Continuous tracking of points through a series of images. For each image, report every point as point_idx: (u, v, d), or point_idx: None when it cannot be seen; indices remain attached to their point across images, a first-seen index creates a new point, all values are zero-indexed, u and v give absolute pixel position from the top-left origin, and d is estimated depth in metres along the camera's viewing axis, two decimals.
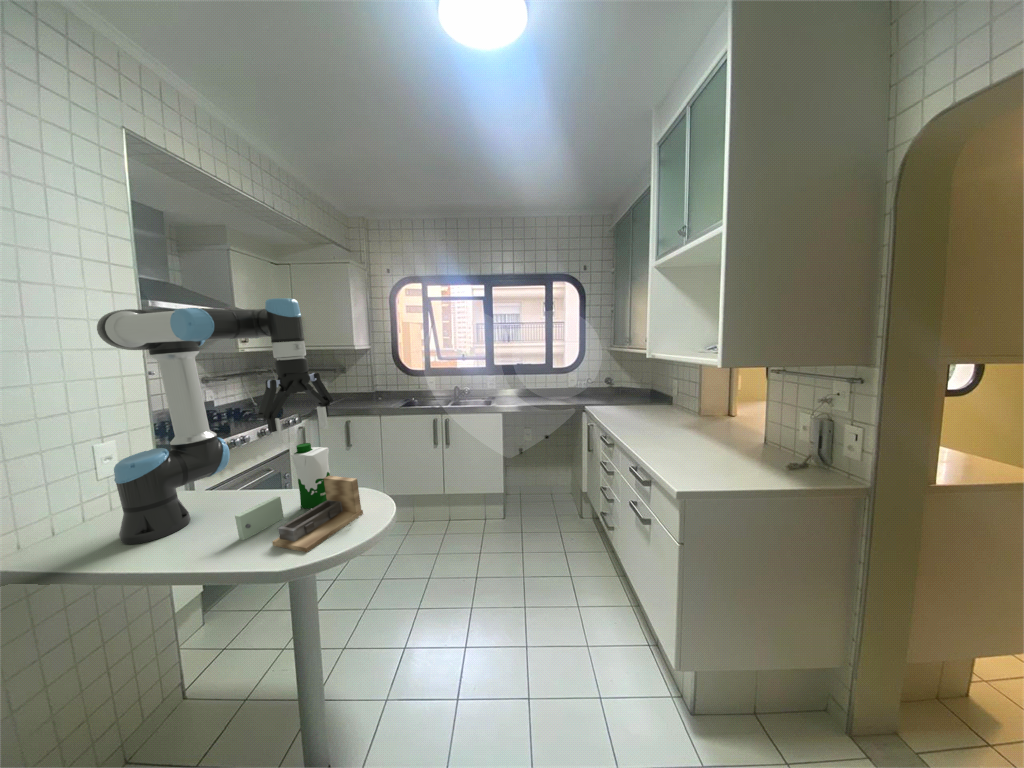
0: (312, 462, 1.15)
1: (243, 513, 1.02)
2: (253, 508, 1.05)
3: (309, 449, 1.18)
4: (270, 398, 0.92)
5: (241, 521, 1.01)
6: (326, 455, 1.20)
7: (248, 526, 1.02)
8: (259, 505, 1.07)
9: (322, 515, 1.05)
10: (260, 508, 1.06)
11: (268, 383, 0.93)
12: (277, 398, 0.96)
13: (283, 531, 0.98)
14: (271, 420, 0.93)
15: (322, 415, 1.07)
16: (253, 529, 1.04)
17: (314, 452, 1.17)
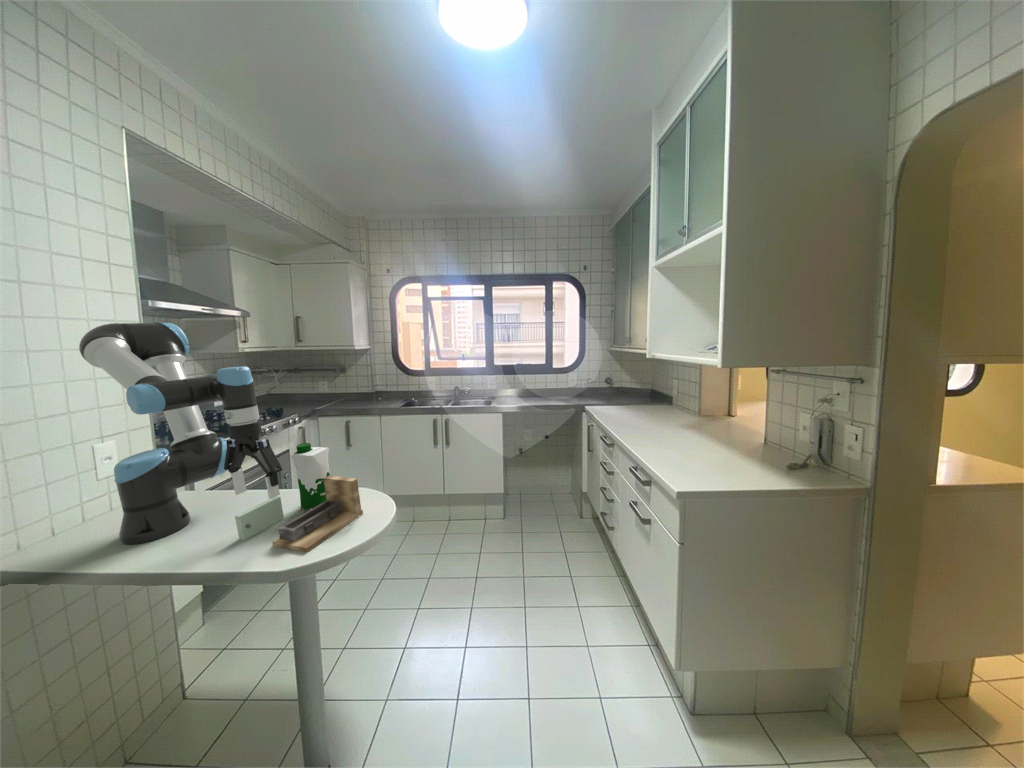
0: (312, 462, 1.15)
1: (243, 513, 1.02)
2: (253, 508, 1.05)
3: (309, 449, 1.18)
4: (226, 454, 1.06)
5: (241, 521, 1.01)
6: (326, 455, 1.20)
7: (248, 526, 1.02)
8: (259, 505, 1.07)
9: (322, 515, 1.05)
10: (260, 508, 1.06)
11: None
12: None
13: (283, 531, 0.98)
14: (231, 472, 1.07)
15: None
16: (253, 529, 1.04)
17: (314, 452, 1.17)
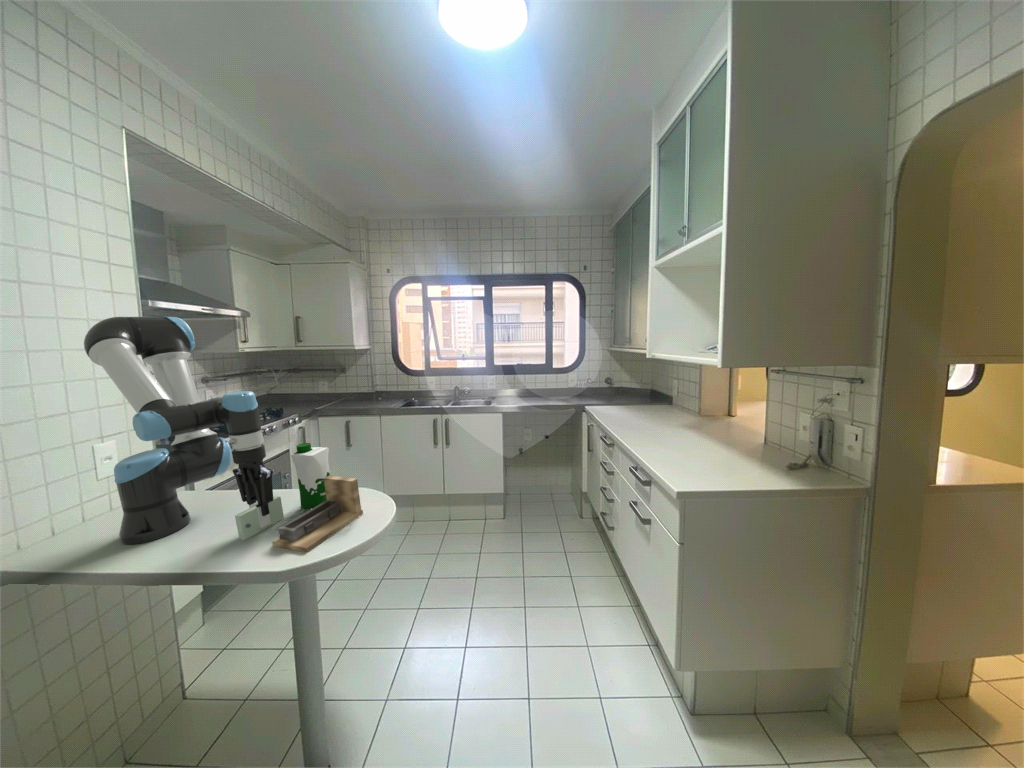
0: (312, 462, 1.15)
1: (243, 513, 1.02)
2: (253, 508, 1.05)
3: (309, 449, 1.18)
4: (238, 485, 1.06)
5: (241, 520, 1.01)
6: (326, 455, 1.20)
7: (248, 526, 1.02)
8: None
9: (322, 515, 1.05)
10: None
11: None
12: None
13: (283, 531, 0.98)
14: (249, 504, 1.07)
15: None
16: (253, 529, 1.04)
17: (314, 452, 1.17)
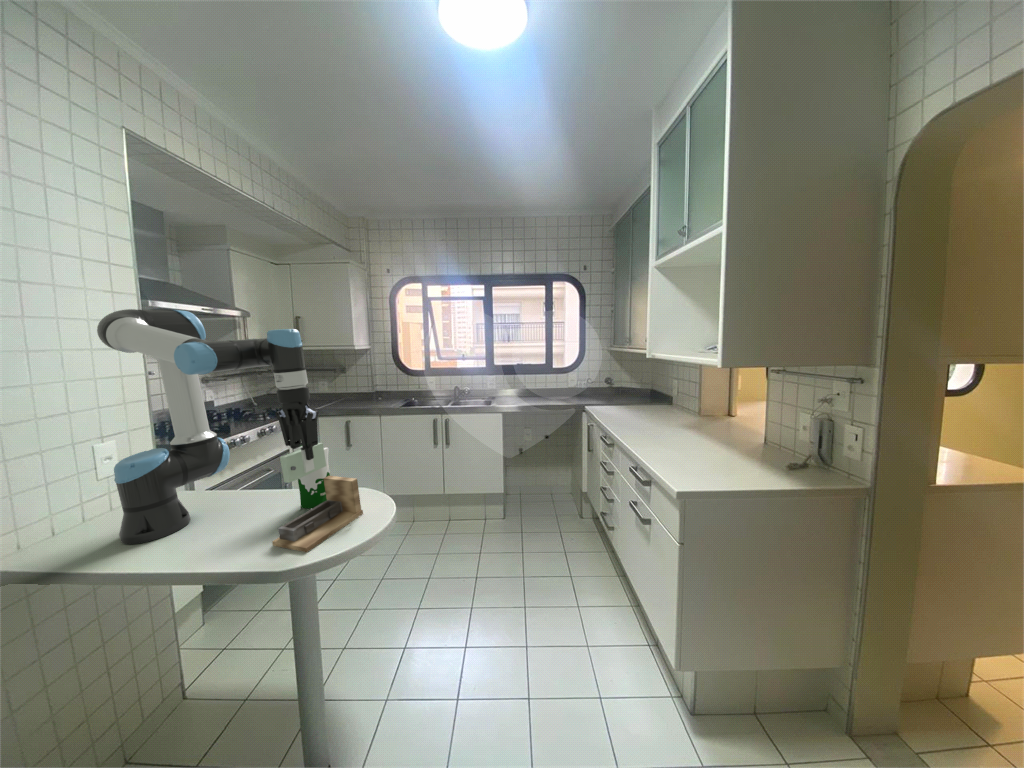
0: None
1: (288, 455, 0.98)
2: (297, 451, 1.01)
3: None
4: (281, 428, 1.02)
5: (286, 462, 0.97)
6: (326, 455, 1.20)
7: (293, 468, 0.98)
8: None
9: (322, 515, 1.05)
10: None
11: None
12: None
13: (283, 531, 0.98)
14: (292, 448, 1.03)
15: None
16: (298, 472, 1.00)
17: None
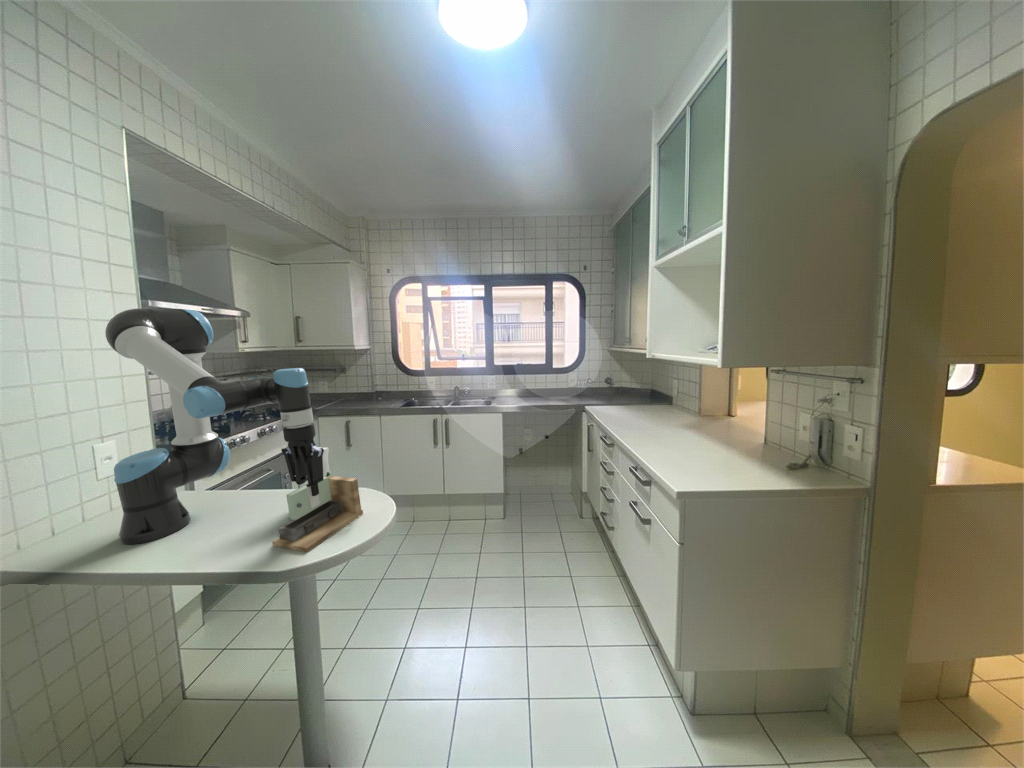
0: None
1: (294, 492, 1.00)
2: (303, 487, 1.03)
3: None
4: (287, 464, 1.04)
5: (293, 500, 0.98)
6: (326, 455, 1.20)
7: (299, 505, 1.00)
8: None
9: (322, 515, 1.05)
10: None
11: None
12: None
13: (283, 531, 0.98)
14: None
15: None
16: (304, 509, 1.02)
17: None
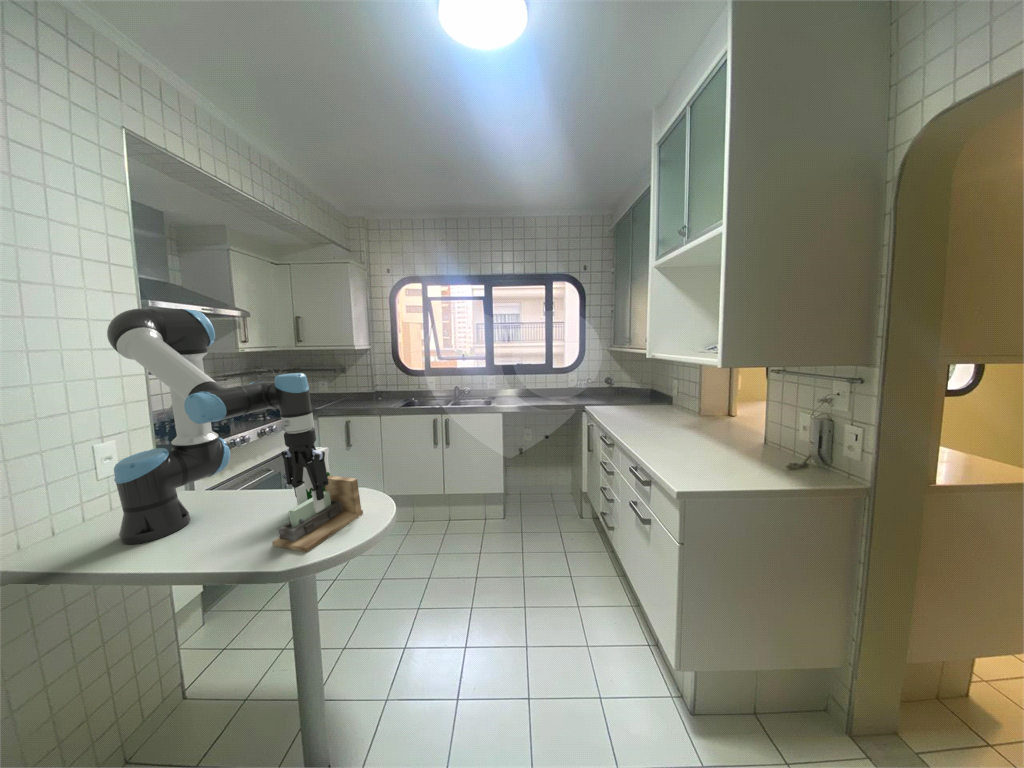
0: None
1: (297, 508, 1.01)
2: (305, 503, 1.03)
3: None
4: (285, 467, 1.04)
5: (295, 515, 0.99)
6: (326, 455, 1.20)
7: (302, 521, 1.00)
8: (310, 500, 1.05)
9: (322, 515, 1.05)
10: (312, 503, 1.04)
11: None
12: None
13: (283, 531, 0.98)
14: None
15: None
16: None
17: None
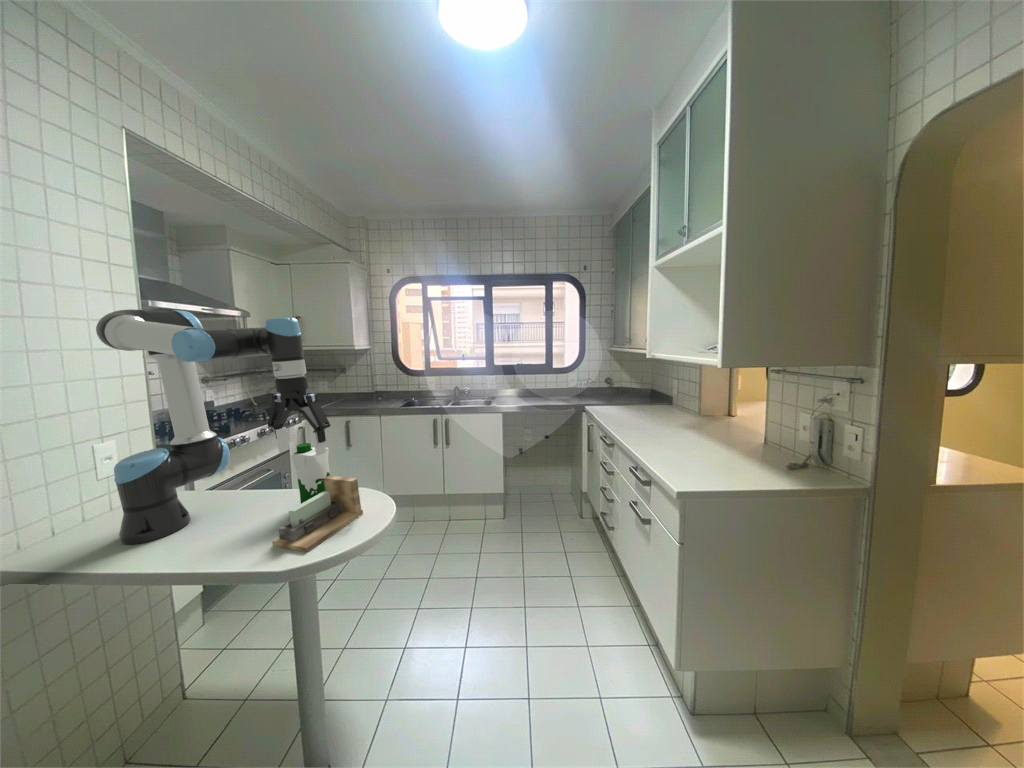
0: (312, 462, 1.15)
1: (297, 508, 1.01)
2: (305, 503, 1.03)
3: (309, 449, 1.18)
4: (271, 410, 1.02)
5: (295, 515, 0.99)
6: (326, 455, 1.20)
7: (302, 521, 1.00)
8: (310, 500, 1.05)
9: (322, 515, 1.05)
10: (312, 503, 1.04)
11: None
12: None
13: (283, 531, 0.98)
14: (275, 429, 1.04)
15: None
16: None
17: (314, 452, 1.17)
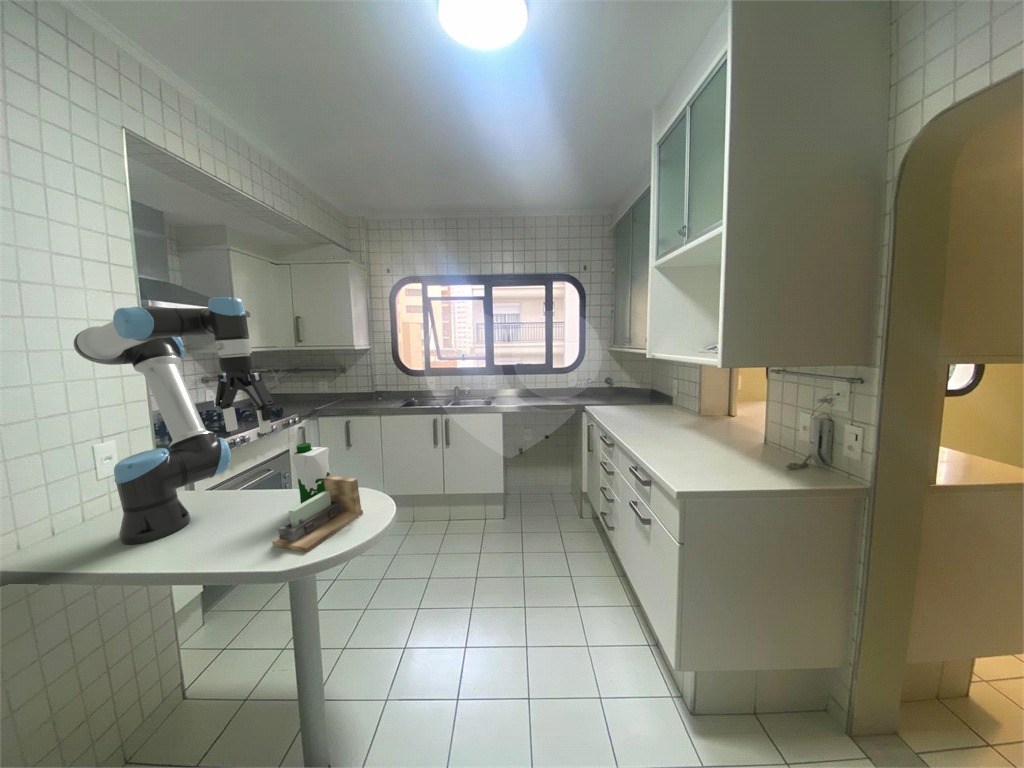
0: (312, 462, 1.15)
1: (297, 508, 1.01)
2: (305, 503, 1.03)
3: (309, 449, 1.18)
4: (218, 390, 1.04)
5: (295, 515, 0.99)
6: (326, 455, 1.20)
7: (302, 521, 1.00)
8: (310, 500, 1.05)
9: (322, 515, 1.05)
10: (312, 503, 1.04)
11: None
12: None
13: (283, 531, 0.98)
14: (222, 409, 1.05)
15: None
16: None
17: (314, 452, 1.17)
